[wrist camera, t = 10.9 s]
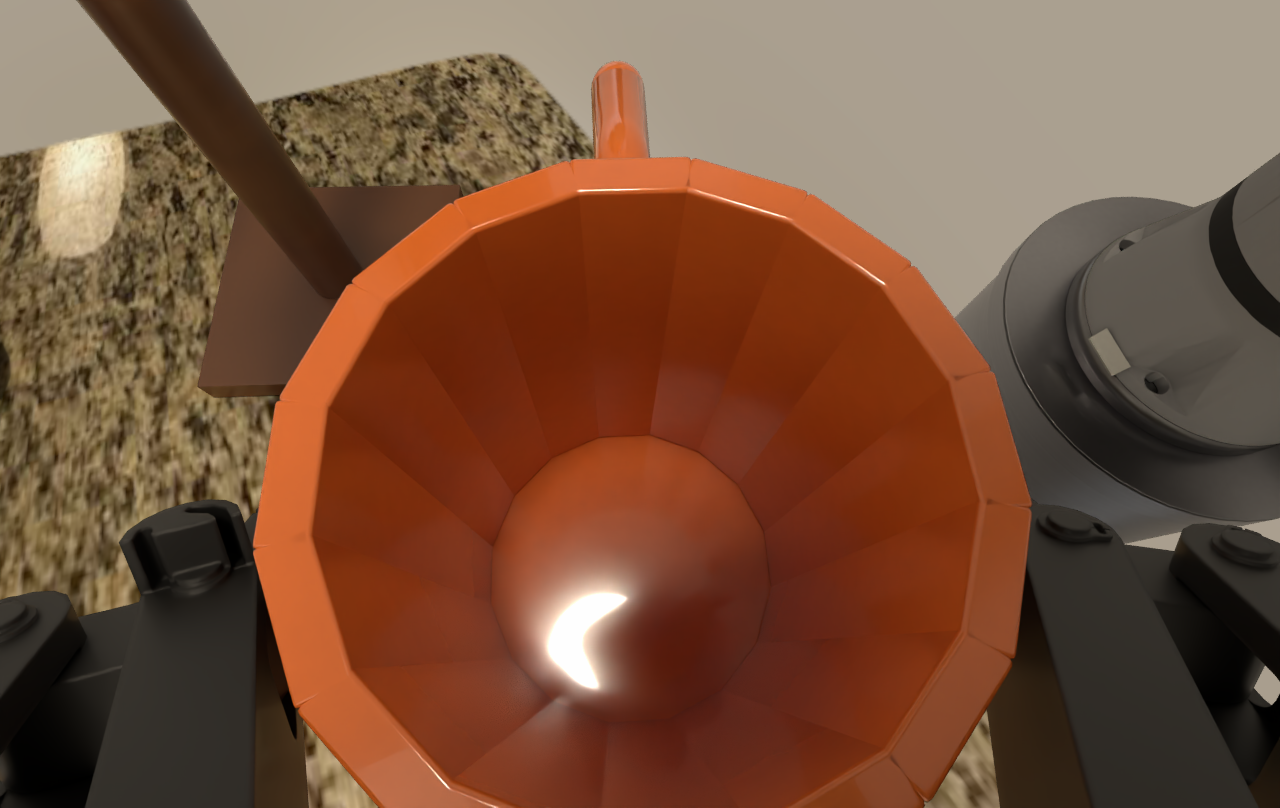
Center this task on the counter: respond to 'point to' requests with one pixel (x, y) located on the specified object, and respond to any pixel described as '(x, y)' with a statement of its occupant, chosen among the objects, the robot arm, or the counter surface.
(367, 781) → the mug
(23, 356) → the counter surface
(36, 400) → the counter surface
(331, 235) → the stand
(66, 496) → the counter surface
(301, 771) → the robot arm
